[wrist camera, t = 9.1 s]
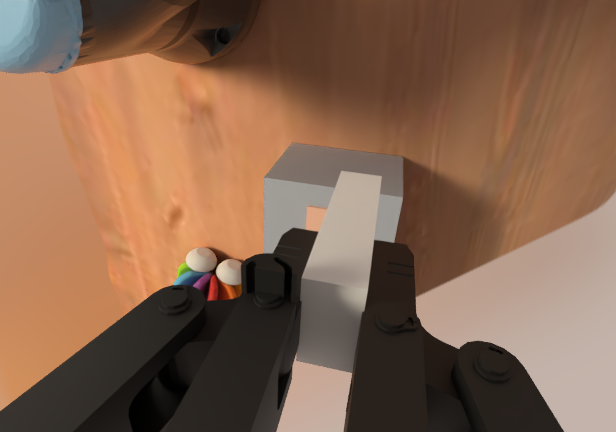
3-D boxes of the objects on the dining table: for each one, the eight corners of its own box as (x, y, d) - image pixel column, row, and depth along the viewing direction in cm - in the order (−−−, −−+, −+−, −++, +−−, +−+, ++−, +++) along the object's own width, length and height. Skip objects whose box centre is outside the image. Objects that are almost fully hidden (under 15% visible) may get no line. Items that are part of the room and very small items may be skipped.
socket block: (287, 260, 50) (263, 315, 41) (292, 142, 42) (263, 178, 33) (380, 277, 48) (375, 338, 39) (403, 156, 40) (403, 199, 31)
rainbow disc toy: (243, 306, 56) (223, 343, 50) (182, 280, 56) (154, 314, 50) (258, 263, 51) (238, 298, 45) (191, 235, 52) (162, 267, 45)
